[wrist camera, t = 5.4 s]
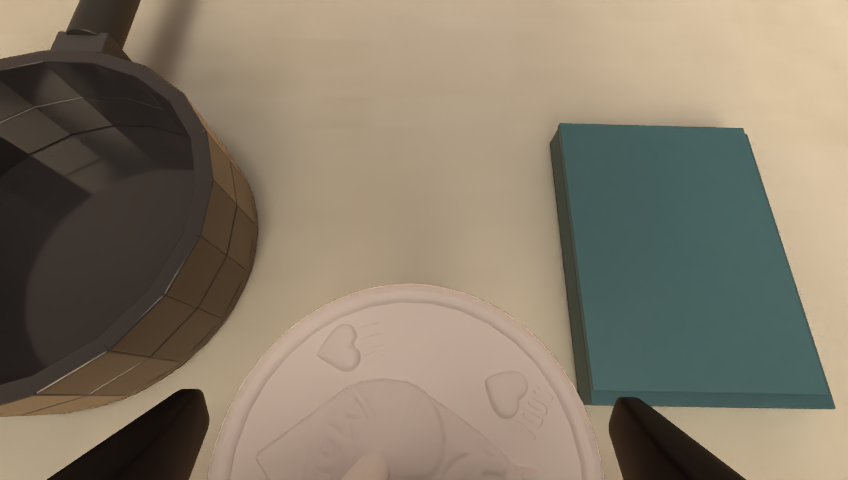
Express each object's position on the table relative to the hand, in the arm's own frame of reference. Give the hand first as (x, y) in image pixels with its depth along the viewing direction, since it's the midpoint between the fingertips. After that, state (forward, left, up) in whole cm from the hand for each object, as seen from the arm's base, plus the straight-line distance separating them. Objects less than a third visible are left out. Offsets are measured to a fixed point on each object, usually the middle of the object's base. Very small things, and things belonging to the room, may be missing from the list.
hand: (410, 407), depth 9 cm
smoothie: (0, +1, -7) cm, 8 cm away
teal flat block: (-8, -9, -7) cm, 15 cm away
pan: (+15, -1, -7) cm, 17 cm away
